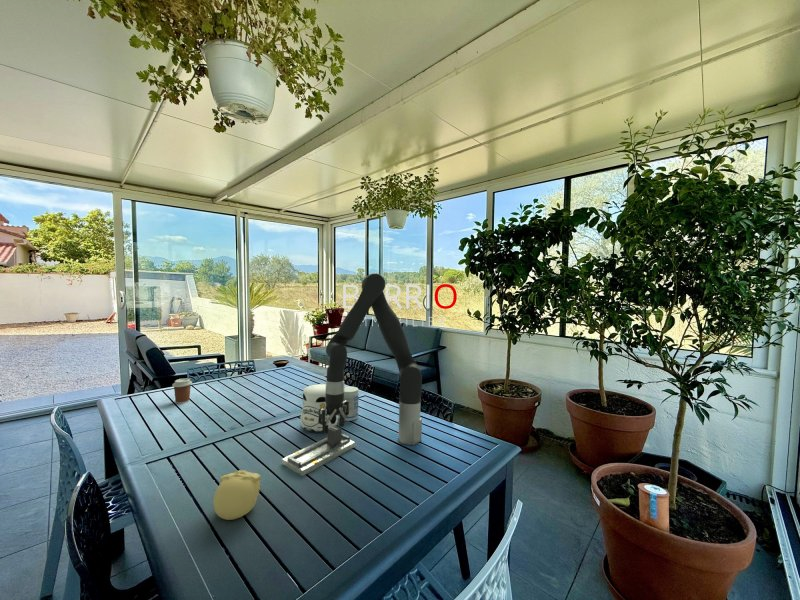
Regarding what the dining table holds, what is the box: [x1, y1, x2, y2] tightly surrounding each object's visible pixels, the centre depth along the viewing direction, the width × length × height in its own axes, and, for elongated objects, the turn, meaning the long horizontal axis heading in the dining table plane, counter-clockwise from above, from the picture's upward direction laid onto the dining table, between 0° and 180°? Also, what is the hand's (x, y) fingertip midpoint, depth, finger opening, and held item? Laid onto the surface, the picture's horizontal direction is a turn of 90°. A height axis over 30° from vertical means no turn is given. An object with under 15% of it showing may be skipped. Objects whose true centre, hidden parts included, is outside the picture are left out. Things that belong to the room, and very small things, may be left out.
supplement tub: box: [338, 386, 360, 422], centre depth 159 cm, size 10×10×15 cm
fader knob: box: [326, 425, 343, 446], centre depth 128 cm, size 4×4×6 cm
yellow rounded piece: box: [212, 469, 262, 521], centre depth 92 cm, size 11×12×11 cm
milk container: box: [300, 383, 339, 433], centre depth 147 cm, size 17×17×18 cm
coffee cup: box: [172, 378, 193, 405], centre depth 175 cm, size 9×9×12 cm
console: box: [281, 433, 356, 477], centre depth 123 cm, size 26×12×3 cm, turn 144°
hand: (333, 429), depth 129 cm, fingers open, 8 cm apart
